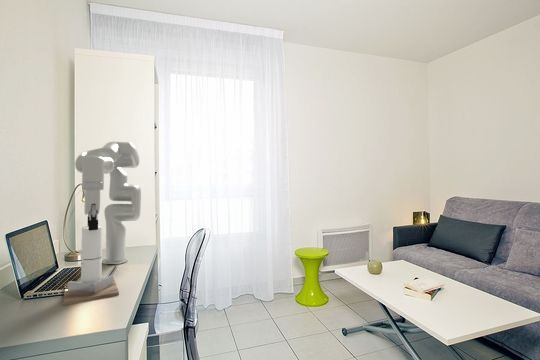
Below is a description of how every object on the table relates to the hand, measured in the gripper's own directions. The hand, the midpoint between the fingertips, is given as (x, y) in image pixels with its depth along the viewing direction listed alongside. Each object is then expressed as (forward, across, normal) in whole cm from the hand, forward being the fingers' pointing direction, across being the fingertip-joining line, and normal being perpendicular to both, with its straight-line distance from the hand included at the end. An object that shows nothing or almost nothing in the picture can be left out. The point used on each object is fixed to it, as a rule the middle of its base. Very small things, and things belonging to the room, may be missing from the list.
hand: (92, 227), depth 118 cm
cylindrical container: (+25, +1, 0) cm, 25 cm away
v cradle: (+26, +1, 0) cm, 26 cm away
